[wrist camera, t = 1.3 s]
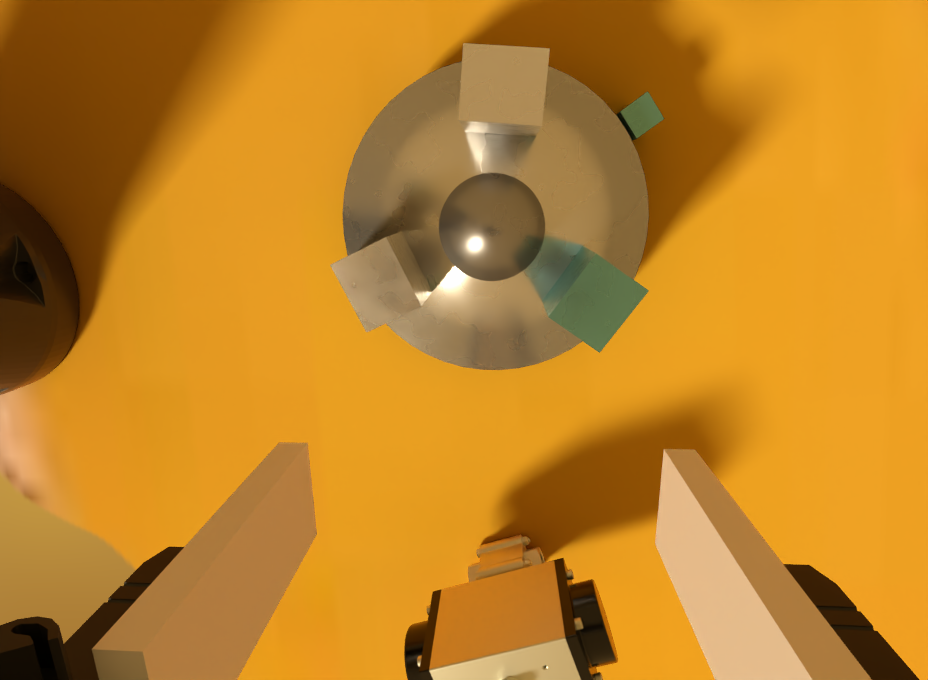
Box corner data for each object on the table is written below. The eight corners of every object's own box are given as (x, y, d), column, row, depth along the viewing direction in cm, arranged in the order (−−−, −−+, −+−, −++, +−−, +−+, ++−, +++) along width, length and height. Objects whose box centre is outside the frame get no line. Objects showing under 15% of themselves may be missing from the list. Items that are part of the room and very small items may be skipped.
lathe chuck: (303, 260, 31) (257, 274, 25) (454, 0, 27) (441, -54, 21) (525, 408, 32) (530, 454, 27) (700, 183, 28) (751, 179, 23)
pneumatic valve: (422, 550, 39) (390, 697, 28) (575, 508, 38) (608, 646, 26) (448, 609, 41) (427, 774, 29) (597, 572, 39) (638, 731, 27)
